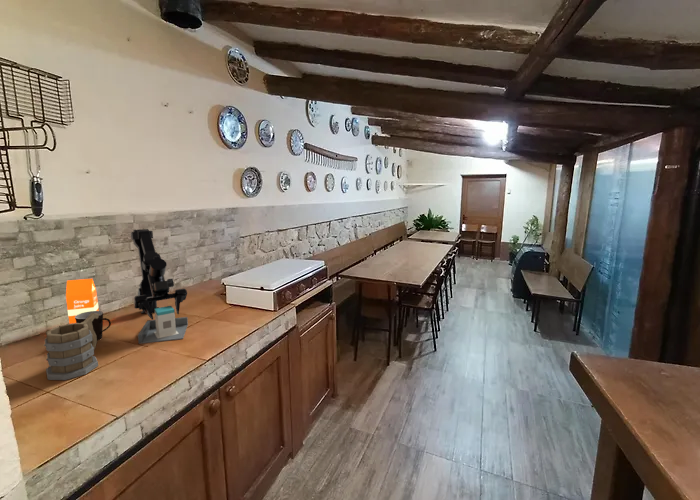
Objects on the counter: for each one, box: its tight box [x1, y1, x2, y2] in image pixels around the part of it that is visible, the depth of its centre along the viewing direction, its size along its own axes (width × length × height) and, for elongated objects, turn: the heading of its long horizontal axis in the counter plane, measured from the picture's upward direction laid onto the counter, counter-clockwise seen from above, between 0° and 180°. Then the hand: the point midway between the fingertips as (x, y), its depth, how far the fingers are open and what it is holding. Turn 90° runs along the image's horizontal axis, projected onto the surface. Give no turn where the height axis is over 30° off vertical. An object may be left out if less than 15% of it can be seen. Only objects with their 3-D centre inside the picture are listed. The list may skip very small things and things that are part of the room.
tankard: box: [43, 313, 99, 381], centre depth 114 cm, size 20×13×15 cm, turn 179°
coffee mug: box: [75, 310, 112, 342], centre depth 132 cm, size 12×9×10 cm
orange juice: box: [65, 278, 100, 324], centre depth 146 cm, size 8×9×20 cm
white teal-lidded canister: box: [154, 305, 176, 337], centre depth 139 cm, size 6×6×10 cm
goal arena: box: [137, 316, 189, 345], centre depth 140 cm, size 15×15×4 cm
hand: (165, 316), depth 137 cm, fingers open, 9 cm apart
